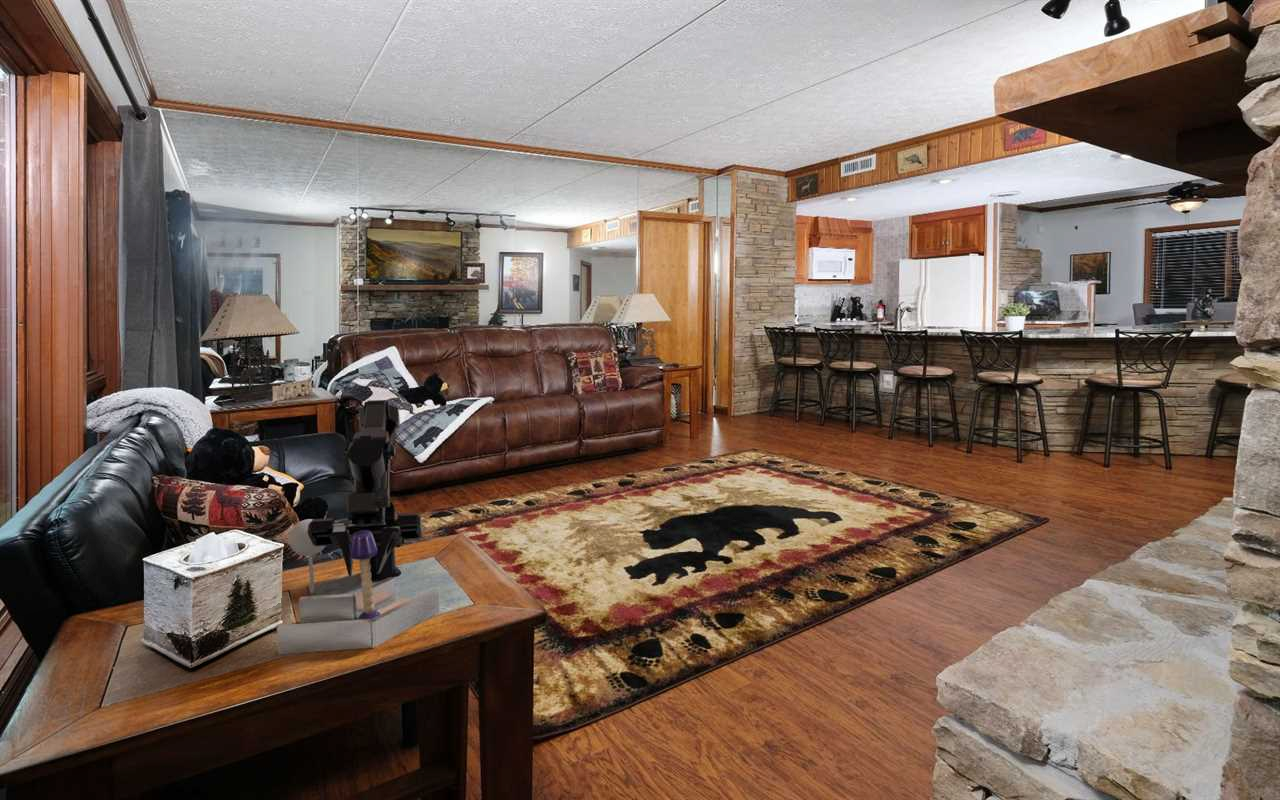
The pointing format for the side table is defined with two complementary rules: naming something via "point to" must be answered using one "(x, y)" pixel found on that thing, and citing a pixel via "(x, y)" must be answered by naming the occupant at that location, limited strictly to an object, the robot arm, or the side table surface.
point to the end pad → (392, 606)
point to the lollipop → (304, 545)
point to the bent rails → (353, 631)
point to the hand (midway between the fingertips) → (363, 574)
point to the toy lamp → (365, 568)
